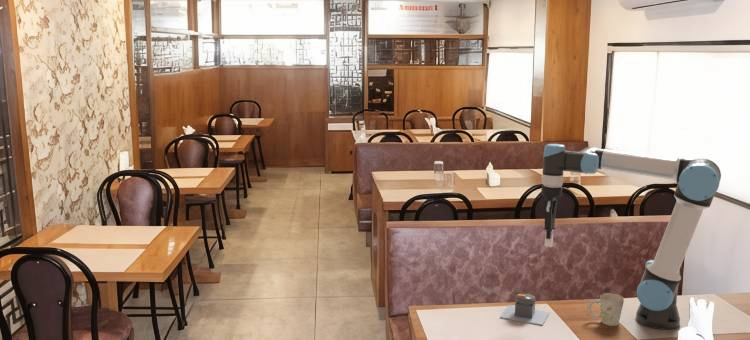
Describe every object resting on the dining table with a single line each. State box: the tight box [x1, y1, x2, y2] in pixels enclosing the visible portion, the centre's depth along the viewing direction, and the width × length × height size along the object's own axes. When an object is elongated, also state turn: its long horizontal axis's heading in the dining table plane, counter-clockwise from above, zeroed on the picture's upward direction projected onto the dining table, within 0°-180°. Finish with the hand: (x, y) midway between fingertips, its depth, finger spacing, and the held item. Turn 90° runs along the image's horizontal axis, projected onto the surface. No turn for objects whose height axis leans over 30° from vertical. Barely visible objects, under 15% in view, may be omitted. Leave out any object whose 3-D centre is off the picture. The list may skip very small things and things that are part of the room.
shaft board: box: [499, 304, 550, 326], centre depth 251 cm, size 16×13×5 cm
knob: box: [514, 293, 536, 319], centre depth 251 cm, size 7×7×8 cm
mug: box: [586, 292, 625, 327], centre depth 245 cm, size 8×13×10 cm, turn 78°
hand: (548, 246), depth 250 cm, fingers closed
